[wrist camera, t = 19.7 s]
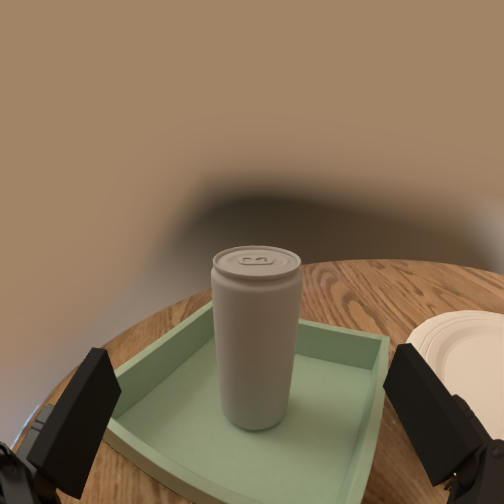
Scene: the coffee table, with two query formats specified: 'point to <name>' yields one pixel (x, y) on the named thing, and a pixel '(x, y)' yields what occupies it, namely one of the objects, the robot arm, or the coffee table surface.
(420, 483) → the coffee table surface
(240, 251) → the beverage can
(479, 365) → the plate
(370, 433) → the tray
